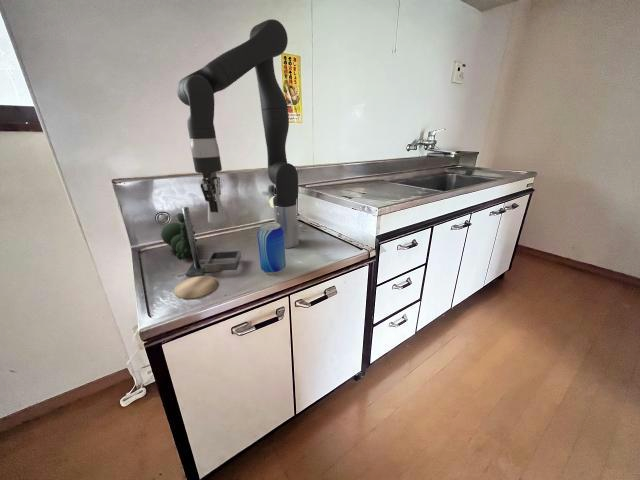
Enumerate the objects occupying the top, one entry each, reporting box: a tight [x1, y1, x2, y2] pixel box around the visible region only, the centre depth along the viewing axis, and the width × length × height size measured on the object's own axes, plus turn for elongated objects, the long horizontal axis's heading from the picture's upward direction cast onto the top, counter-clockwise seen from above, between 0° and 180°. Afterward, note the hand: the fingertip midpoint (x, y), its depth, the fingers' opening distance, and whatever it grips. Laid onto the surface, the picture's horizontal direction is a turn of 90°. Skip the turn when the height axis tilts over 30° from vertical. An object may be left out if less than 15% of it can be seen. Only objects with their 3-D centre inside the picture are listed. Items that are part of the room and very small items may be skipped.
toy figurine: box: [160, 212, 199, 260], centre depth 100 cm, size 9×19×25 cm
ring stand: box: [181, 206, 242, 277], centre depth 87 cm, size 16×10×22 cm, turn 97°
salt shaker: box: [207, 187, 228, 229], centre depth 83 cm, size 6×6×13 cm
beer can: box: [256, 222, 287, 276], centre depth 87 cm, size 8×8×16 cm
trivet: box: [173, 275, 219, 300], centre depth 80 cm, size 12×12×1 cm
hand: (216, 211), depth 84 cm, fingers closed on salt shaker, 3 cm apart
